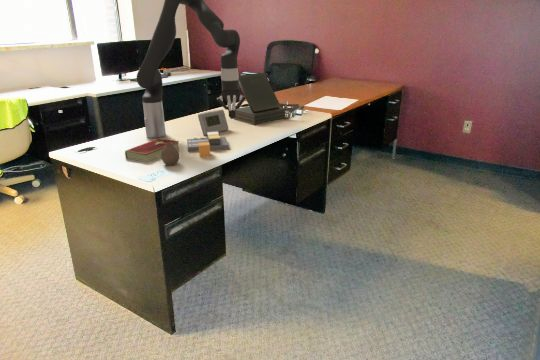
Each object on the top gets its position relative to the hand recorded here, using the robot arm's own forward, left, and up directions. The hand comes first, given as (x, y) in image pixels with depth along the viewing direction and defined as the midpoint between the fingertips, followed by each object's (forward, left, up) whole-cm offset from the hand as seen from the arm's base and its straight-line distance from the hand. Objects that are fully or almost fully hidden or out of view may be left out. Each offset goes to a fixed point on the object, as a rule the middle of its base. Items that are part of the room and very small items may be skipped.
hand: (232, 118), depth 186 cm
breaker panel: (-12, +3, -13) cm, 18 cm away
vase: (-28, -19, -13) cm, 36 cm away
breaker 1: (-9, +6, -11) cm, 15 cm away
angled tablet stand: (+21, +51, -14) cm, 57 cm away
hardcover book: (-35, -2, -14) cm, 38 cm away
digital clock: (-7, +28, -13) cm, 32 cm away
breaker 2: (-9, 0, -11) cm, 14 cm away
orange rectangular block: (-14, -10, -13) cm, 21 cm away
